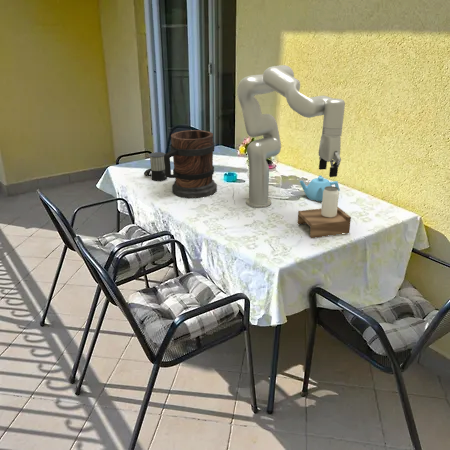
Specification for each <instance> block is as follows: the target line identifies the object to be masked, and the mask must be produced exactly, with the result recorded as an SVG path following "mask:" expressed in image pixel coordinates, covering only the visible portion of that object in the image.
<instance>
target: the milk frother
mask: <svg viewBox="0 0 450 450" xmlns="http://www.w3.org/2000/svg"><path fill="white" fill-rule="evenodd" d="M165 154H166V153H165V152H159V151H158V152H157V151H156V152H151V153H149V154H148V156H149V160H150V161H149V163H150V168H148V169H146V170H145V171H144V172H143V175H144V176H145V177H151V181H153V182H164V181H166V180H167V179H168V177H166V173H165V163H164V155H165Z"/></svg>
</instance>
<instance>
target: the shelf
mask: <svg viewBox="0 0 450 450" xmlns="http://www.w3.org/2000/svg"><path fill="white" fill-rule="evenodd" d="M321 210H322V208H315V209H304V210H303V209H302V210H297V223H298V224H302V225H308V226H309V227H310V230H309V238H311V239H315V237H317V238H322V236H325V237H329V236H328V235H333V236H337V235H336V234H342V233H349V234H350V230H351V229H350V228H351V219H352V217H351V215H349V214H348V213H347V212H346V211H344V210H343V209H341V207H339V206H338V208H337V215H336V216H335V217H333V218H327V217H324V216H322V214H321ZM298 224H297V225H298ZM342 235H343V234H342Z"/></svg>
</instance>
